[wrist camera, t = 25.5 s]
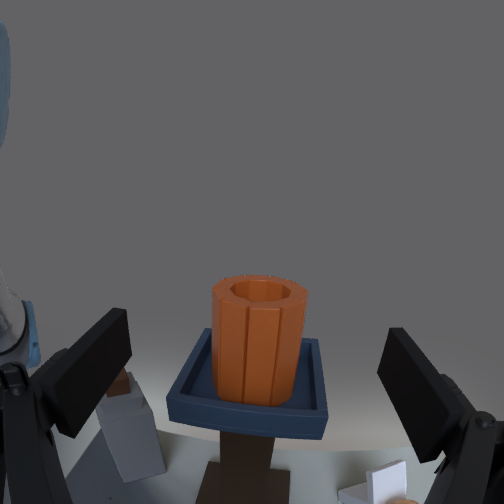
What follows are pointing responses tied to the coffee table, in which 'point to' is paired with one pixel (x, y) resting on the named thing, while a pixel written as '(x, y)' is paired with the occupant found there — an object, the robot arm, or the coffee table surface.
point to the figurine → (379, 487)
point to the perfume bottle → (130, 429)
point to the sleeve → (256, 338)
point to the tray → (248, 426)
